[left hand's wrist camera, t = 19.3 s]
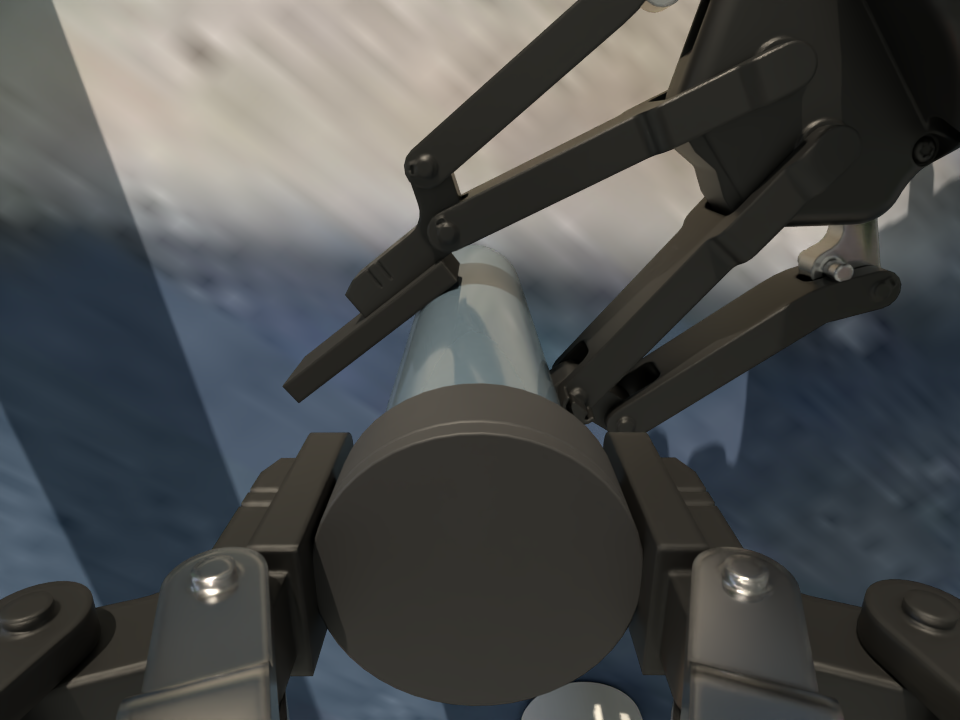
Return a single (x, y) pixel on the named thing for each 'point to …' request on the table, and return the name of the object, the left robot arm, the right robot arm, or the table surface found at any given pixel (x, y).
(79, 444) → the table surface
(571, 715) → the coffee cup
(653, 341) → the right robot arm
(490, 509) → the lid
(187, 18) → the table surface
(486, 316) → the jar
